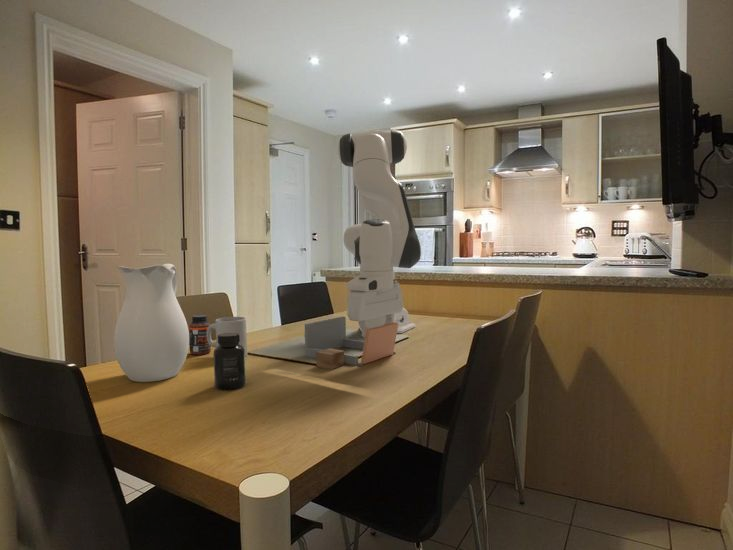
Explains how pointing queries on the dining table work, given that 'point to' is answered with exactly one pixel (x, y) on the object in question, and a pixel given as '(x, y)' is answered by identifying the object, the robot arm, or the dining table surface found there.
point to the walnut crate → (330, 358)
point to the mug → (229, 330)
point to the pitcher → (151, 325)
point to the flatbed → (330, 338)
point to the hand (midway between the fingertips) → (377, 333)
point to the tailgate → (379, 342)
